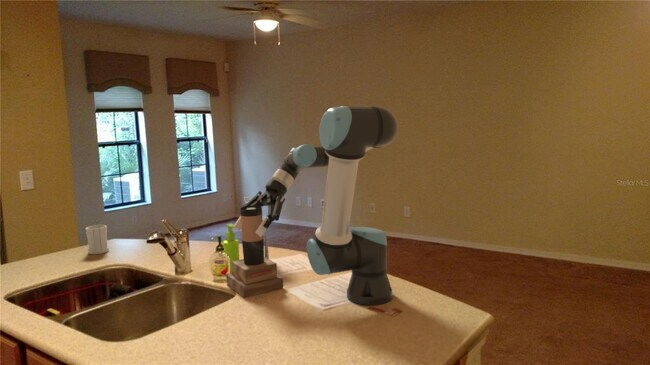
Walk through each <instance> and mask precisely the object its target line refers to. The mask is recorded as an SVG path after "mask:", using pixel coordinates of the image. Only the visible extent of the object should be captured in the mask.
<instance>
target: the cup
mask: <svg viewBox="0 0 650 365" xmlns="http://www.w3.org/2000/svg"><path fill="white" fill-rule="evenodd" d="M85 232H86V238H87V246H88V250H87V253H88V254H90V255H100V254H105V253H107V252H109V251H110V249H109V248H110V247H109V246H108V226H107V225H105V224H95V225H89V226H87V227H85Z"/></svg>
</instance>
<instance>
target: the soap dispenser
mask: <svg viewBox="0 0 650 365" xmlns="http://www.w3.org/2000/svg"><path fill="white" fill-rule="evenodd" d="M234 225H235V223H231V222H230V223H226V226H227V231H226V232H225V239H226V240H223V241H222V245H223V247H222V248H224V250H223V252H224V251H225V253H226V254H227V256H229V258H230V274H232V261H237V260H240V245H239V239H236V233H235V231H234V230H233V229H235V228H234V227H233V226H234Z"/></svg>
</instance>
